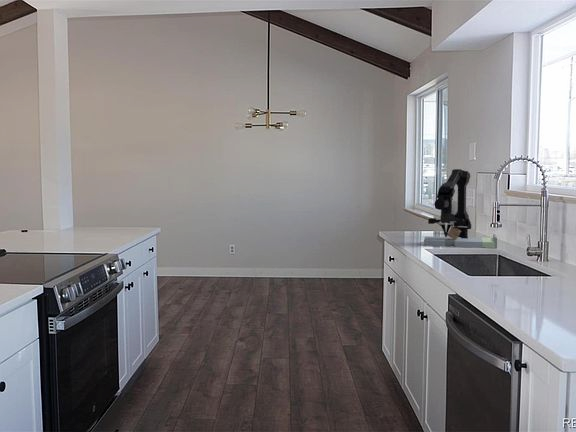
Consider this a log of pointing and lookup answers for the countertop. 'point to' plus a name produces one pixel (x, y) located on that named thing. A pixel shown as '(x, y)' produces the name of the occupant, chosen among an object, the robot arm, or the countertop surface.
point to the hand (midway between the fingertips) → (445, 236)
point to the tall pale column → (455, 209)
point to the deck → (461, 242)
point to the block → (454, 233)
